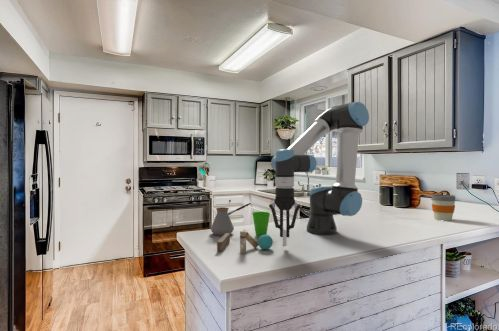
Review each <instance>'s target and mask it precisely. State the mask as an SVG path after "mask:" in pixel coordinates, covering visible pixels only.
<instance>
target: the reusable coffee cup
mask: <svg viewBox="0 0 499 331" xmlns="http://www.w3.org/2000/svg"><path fill="white" fill-rule="evenodd" d="M430 200H431V207H432V208H431V209H432V212H433V218H434V220H436V219H437V220H436V221H441V220H443V222H451V221H450V220H452V221H453V215H454V213H455V208H456V205H455V202H456V200H457V199H456V196H455V195H451V194H437V193H436V194H431V199H430Z"/></svg>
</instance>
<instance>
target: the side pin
mask: <svg viewBox="0 0 499 331" xmlns="http://www.w3.org/2000/svg"><path fill="white" fill-rule="evenodd" d="M246 231H247V230H246ZM246 231H243V230H241V231H239V254H240V255H246V254H247V240H246Z"/></svg>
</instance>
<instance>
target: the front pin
mask: <svg viewBox="0 0 499 331" xmlns="http://www.w3.org/2000/svg"><path fill="white" fill-rule="evenodd" d="M242 231H246V242H248V243H249V244H250V245H251V246H252V247H253V248H254V249H257V247H258V246H259V245H258V241H257V240H255V238H253V237H252V235H251V234H250V233H249V232H248V231H247V230H246V229H243V230H242Z"/></svg>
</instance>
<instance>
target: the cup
mask: <svg viewBox="0 0 499 331" xmlns="http://www.w3.org/2000/svg"><path fill="white" fill-rule="evenodd" d="M251 214H252V218H253V219H252V220H253V224H254V231H255V233H254V234H255V236H256V235H257V236H256V237H258V236H262V235H265V234H266V235H268V227H269V223H270V222H269V221H270V215H271V212H269V211H264V210H263V211H260V210H259V211H253V212H251Z"/></svg>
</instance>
